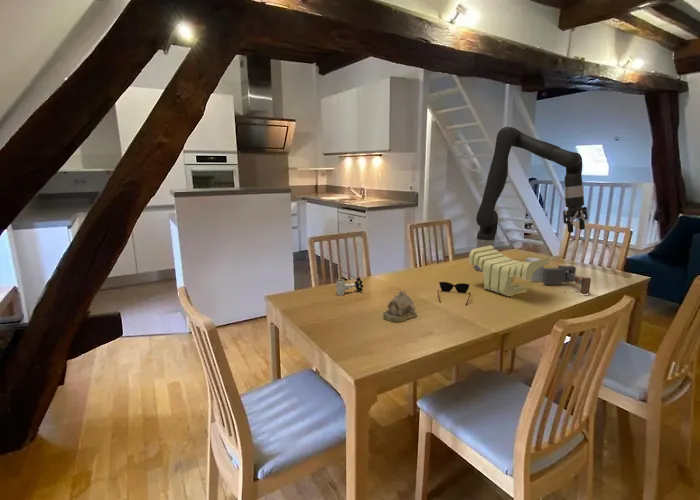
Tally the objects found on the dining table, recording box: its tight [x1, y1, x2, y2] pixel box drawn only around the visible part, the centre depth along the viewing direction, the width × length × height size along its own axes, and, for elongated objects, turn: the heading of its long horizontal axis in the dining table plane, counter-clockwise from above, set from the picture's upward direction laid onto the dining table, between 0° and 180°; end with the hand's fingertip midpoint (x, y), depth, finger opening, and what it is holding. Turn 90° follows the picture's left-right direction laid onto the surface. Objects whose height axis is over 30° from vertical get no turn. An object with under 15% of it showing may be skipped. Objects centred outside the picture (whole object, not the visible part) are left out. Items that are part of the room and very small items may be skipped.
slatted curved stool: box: [468, 246, 550, 297], centre depth 182 cm, size 30×16×18 cm, turn 33°
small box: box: [525, 257, 545, 282], centre depth 199 cm, size 8×6×10 cm
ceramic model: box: [382, 291, 418, 323], centre depth 155 cm, size 14×11×10 cm
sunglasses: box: [437, 281, 471, 306], centre depth 175 cm, size 14×16×5 cm
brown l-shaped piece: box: [557, 265, 592, 294], centre depth 186 cm, size 10×21×8 cm, turn 2°
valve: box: [335, 277, 364, 296], centre depth 182 cm, size 7×7×12 cm
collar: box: [542, 265, 577, 285], centre depth 190 cm, size 14×3×8 cm, turn 92°
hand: (576, 230), depth 185 cm, fingers open, 8 cm apart
